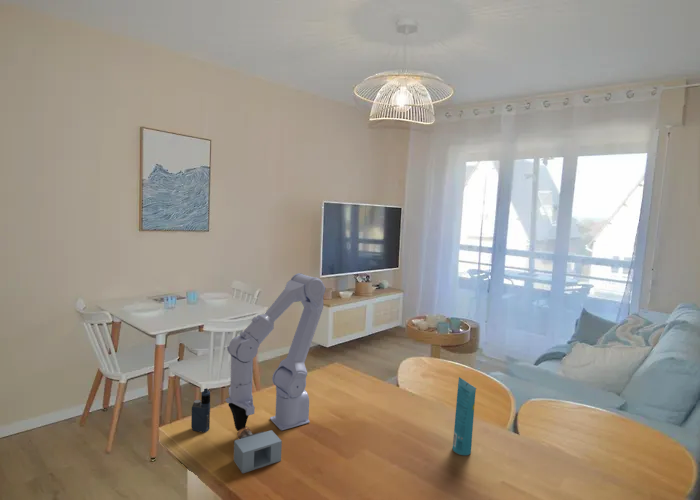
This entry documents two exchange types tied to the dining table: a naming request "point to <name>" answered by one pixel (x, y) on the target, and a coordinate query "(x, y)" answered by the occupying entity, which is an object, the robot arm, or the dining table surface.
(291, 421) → the robot arm
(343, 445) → the dining table surface
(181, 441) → the dining table surface
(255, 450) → the sleeve block
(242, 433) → the peg
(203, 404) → the vaping device
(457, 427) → the tube
